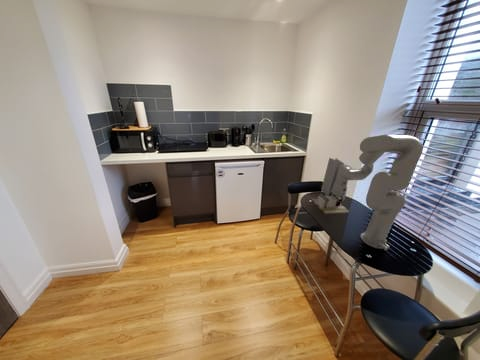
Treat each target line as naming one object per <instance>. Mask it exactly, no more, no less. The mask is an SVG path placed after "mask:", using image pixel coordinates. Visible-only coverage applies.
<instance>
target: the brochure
mask: <svg viewBox="0 0 480 360" xmlns="http://www.w3.org/2000/svg"><path fill="white" fill-rule="evenodd" d="M341 165H345V163H344V162H343V161H341V160H339V159H338V158H335V159H334V158H331V157H329V158H328V162H327V166H326V170H325V174H324V178H323V181H322V185H321V192H322V194H324V193H325V194H324V196H330V195H331V189H332V188H333V185H334V183H335V181H336V178H337V174H338V171H339V168H340V166H341ZM329 194H330V195H329Z"/></svg>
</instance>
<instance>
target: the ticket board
mask: <svg viewBox="0 0 480 360" xmlns="http://www.w3.org/2000/svg"><path fill="white" fill-rule="evenodd" d="M311 201H312V203H314V204H315V206H317V207H318V208H319V210H321V211H322V212H323V213H324V214H325V215H327V214H331V215H332V214H349V213H350V210H348V209H347V208H346V207H345V206H344V205H342V204H341V205H340V207H326V209H325V208H324V207H320V206H319V205H318V204H317V201H318V198H312V199H311Z"/></svg>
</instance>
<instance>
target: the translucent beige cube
mask: <svg viewBox="0 0 480 360" xmlns="http://www.w3.org/2000/svg"><path fill="white" fill-rule="evenodd" d="M329 196H330V195H329ZM330 197H331V198H333V199H334V203H333V206H332V207H340V206H336V202H337V201H338V197H336V196H330ZM339 200H340V198H339ZM340 205H342V203H341V204H340Z"/></svg>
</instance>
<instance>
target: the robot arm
mask: <svg viewBox="0 0 480 360" xmlns="http://www.w3.org/2000/svg"><path fill="white" fill-rule="evenodd" d="M423 148H424V146H423V144H422V141H421V140H420V139H419V138H417V137H415V136H413V135H407V134H381V135H375V136H374V135H373V136H369V137H366V138H364V139H363V140H361V142H360V144H359V151H361V152H362V153H361V154H360V155H359V158H358V159H359V161H360V162H361V164H363V166H362V167H360V168H352V166H351V165H348V164H344V165H341V166H340V168H339V171H338V174H337V178H336V181H335V183H334V185H333V188H332V189H331V196H336V197H338V201H337V202H336V206H340V204H341V205H342V202H344V201H346V195H347V190H348V182H349V181H363V180H366V178H368V177H369V176H370V175H371V173H372V172H373V170H374V164H375V163H376V162H377V161H379V158H381V157H382V156H383V155H384V154H385V153H399V155H398V156H397V157H396V158H395V159H394V160H393V161H392V162H393V163H392V165H391V168H390V170H389V171H385V170H384V171H379V172H376V173H375V174H374V175H373V177H372V179H371V181H370V184H369V187H368V191H367V194H366V196H365V197H366V198H365V202H366V205H367V207H368V208H369V209H371V210H373V212H372V214H371V215H372V216H371V218H370V219H369V223H368V225H367V227H366V229H365V231H364V232H362V233H360V239H361V240H362V241H363V243H364V244H366V245H368V246H370V247H372V248H375V249H381V250H384V251H388V250H389V248H390V247H391V246H390V245H389V244H387V241H388V240H387V236H388V234H389V232H390V230H391V229H392V227H393V224H394V222H395V221H396V218H397V216H398V214H399V213H400V212H401V211H402V210H403V208H404V207H405V204H406V198H405V196H404V195H403V194H402V193H400V192H398V191H403V190H405V189H407V188H408V186H409V184H410V182H411V179H412V176H413V174H414V171H415V169H416V166H417V164H418V162H419V160H420V159H421V157H422V155H423V150H424V149H423ZM339 198H340V200H339Z"/></svg>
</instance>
